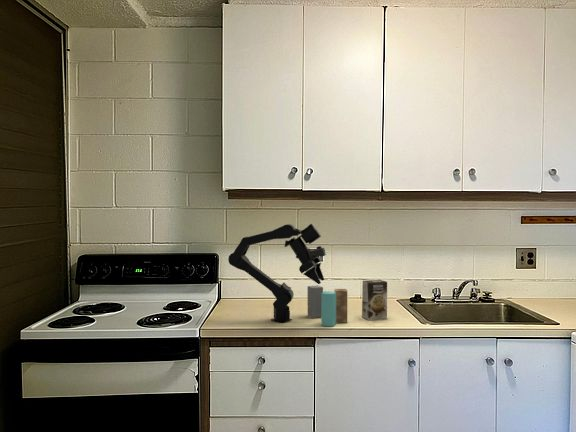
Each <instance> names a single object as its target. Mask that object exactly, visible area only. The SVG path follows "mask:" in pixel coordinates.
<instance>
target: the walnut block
mask: <svg viewBox="0 0 576 432" xmlns="http://www.w3.org/2000/svg"><path fill="white" fill-rule="evenodd" d="M334 292H336V323H348V288H334Z"/></svg>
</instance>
